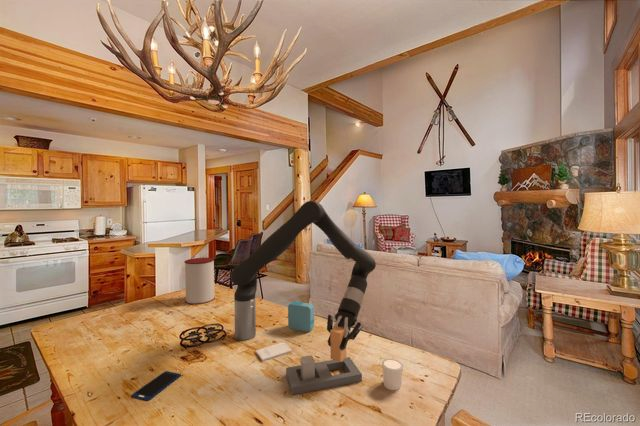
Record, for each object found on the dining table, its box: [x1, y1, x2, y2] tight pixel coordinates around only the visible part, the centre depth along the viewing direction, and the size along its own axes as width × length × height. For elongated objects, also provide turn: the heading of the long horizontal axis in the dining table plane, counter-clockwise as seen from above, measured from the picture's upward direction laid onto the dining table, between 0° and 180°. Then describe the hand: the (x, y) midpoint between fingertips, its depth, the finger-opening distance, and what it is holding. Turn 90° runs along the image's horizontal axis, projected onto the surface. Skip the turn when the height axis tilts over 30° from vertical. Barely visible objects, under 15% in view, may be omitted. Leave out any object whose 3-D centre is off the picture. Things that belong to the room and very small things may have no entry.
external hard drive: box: [254, 341, 293, 362], centre depth 114 cm, size 2×8×12 cm
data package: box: [287, 300, 315, 333], centre depth 136 cm, size 12×4×12 cm, turn 66°
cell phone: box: [130, 370, 182, 402], centre depth 94 cm, size 7×14×1 cm, turn 163°
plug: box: [329, 327, 347, 362], centre depth 99 cm, size 4×4×10 cm
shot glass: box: [381, 358, 404, 391], centre depth 94 cm, size 7×7×7 cm
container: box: [184, 257, 216, 305], centre depth 177 cm, size 17×17×25 cm
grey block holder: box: [285, 354, 363, 396], centre depth 97 cm, size 24×11×8 cm, turn 106°
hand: (335, 347), depth 97 cm, fingers closed on plug, 4 cm apart
